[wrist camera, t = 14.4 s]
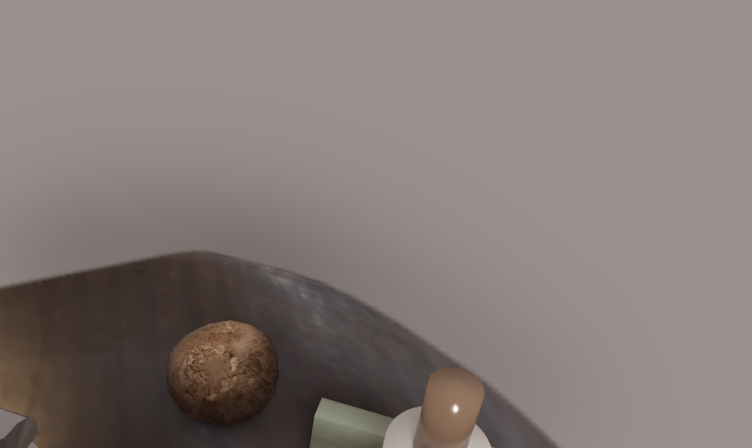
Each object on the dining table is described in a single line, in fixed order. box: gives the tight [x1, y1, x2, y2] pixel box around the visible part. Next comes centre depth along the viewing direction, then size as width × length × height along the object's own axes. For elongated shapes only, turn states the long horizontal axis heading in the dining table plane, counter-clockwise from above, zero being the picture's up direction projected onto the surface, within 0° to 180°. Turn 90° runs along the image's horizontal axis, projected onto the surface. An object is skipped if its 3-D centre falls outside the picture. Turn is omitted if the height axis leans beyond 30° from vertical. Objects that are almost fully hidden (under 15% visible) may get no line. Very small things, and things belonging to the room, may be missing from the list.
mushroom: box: [166, 320, 278, 425], centre depth 52 cm, size 8×8×6 cm
